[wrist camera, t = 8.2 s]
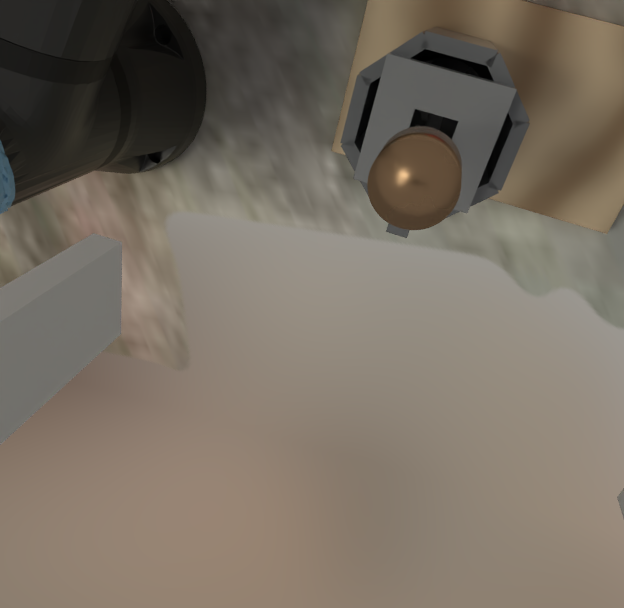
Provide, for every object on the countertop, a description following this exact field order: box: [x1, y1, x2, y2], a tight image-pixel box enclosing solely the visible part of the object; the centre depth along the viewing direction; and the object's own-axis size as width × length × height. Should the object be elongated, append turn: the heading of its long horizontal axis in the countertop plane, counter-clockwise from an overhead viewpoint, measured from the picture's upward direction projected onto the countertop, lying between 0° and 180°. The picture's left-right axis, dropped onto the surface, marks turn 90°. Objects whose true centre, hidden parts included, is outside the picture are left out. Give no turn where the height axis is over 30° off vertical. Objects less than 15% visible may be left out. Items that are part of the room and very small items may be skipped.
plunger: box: [367, 57, 480, 230], centre depth 29 cm, size 7×7×20 cm
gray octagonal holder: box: [340, 27, 530, 238], centre depth 35 cm, size 10×12×12 cm
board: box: [332, 0, 624, 234], centre depth 39 cm, size 22×13×1 cm, turn 76°
